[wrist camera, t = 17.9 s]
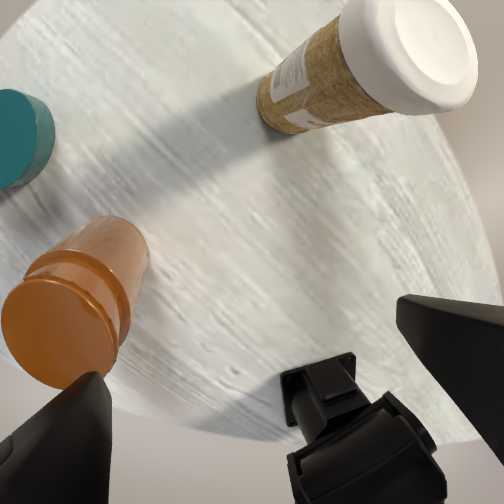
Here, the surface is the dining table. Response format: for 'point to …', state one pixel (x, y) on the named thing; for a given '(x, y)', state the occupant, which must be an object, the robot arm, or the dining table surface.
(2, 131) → the lid
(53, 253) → the jar
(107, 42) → the dining table surface
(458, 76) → the sprinkles bottle
